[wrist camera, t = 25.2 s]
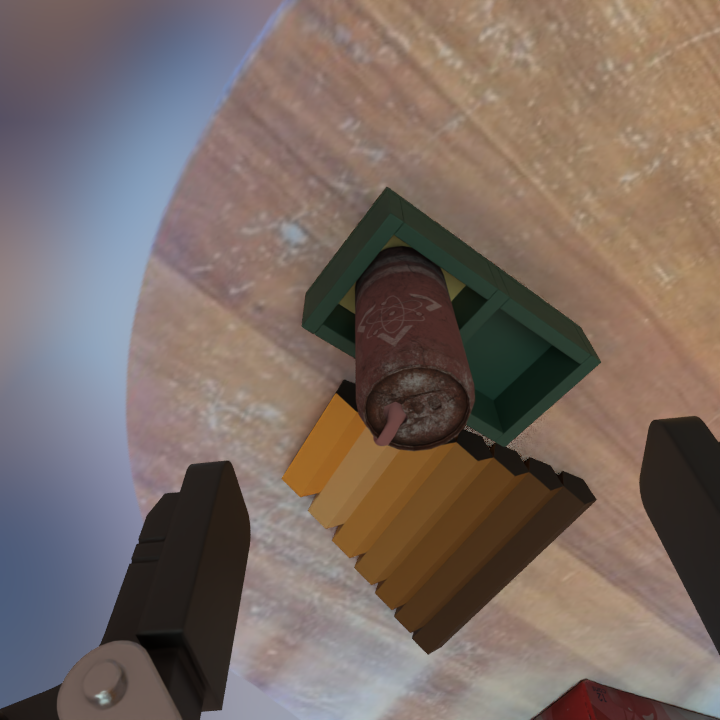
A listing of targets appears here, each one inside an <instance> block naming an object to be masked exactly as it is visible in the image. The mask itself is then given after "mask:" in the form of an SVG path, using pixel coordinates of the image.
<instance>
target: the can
mask: <svg viewBox="0 0 720 720" xmlns="http://www.w3.org/2000/svg"><path fill="white" fill-rule="evenodd" d="M355 359H356V404H357V409H358V414H359V416H360V417H361V419H362V421H363V422H364V424H365V425H366V427H367V428H368V429H369V430H370V432H371V434H372V435H373V440H374V442H375V443H376V444H377V445H378V446H386V445H388V446H390V447H393V448H396V449H398V450H407V451H421V450H430V449H433V448H435V447H438V446H441V445H444V444H446V443H447V442H449V441H450V440H451V439H453V438H454V437H456V436H457V435H458V434H459V433H460V432H461V430H462V429H463V428H464V427H465V425H466V424H467V421H468V418H469V416H470V414H471V411H472V408H473V405H474V402H475V389H474V383H473V379H472V375H471V372H470V368H469V364H468V361H467V357H466V353H465V350H464V346H463V343H462V339H461V335H460V332H459V328H458V324H457V321H456V317H455V313H454V310H453V306H452V302H451V299H450V295H449V292H448V288H447V284H446V281H445V277H444V274H443V272H442V270H441V268H440V267H439V266H438V265H436V264H435V263H434V262H432V261H431V260H429V259H428V258H426V257H425V256H424V255H422V254H421V253H419V252H418V251H416V250H415V249H413V248H412V247H406V246H399V247H392V248H387V249H385V250H382V251H380V252H379V254H378V255H377V256H376V257H375V259H374V260H373V261H372V262H371V264H370V265H369V266H368V267H367V269H366V270H365V271H364V272H363V274H362V275H361V276H360V277H359V279H358V280H357V281H356V285H355Z"/></svg>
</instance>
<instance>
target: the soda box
mask: <svg viewBox="0 0 720 720" xmlns="http://www.w3.org/2000/svg"><path fill="white" fill-rule="evenodd" d="M535 720H718V719H714V718H711V717H707V716H704V715H701V714H697V713H694V712H690V711H687V710H683V709H680V708H677V707H673V706H670V705H667V704H663V703H660V702H656V701H653V700H649V699H646V698H643V697H639V696H636V695H633V694H629V693H626V692H622V691H619V690H616V689H612V688H609V687H606V686H603V685H600V684H597V683H595V682H592V681H589V680H587V679H586V681H585V680H583V681H582V682H581V683H579V684H578V685H577V686H576V687H574V688H573V689H572V690H571V691H570V692H568V693H567V694H566V695H565V696H563V697H562V698H561V699H559V700H558V701H557V702H556V703H554V704H553V705H552V706H551V707H550V708H548V709H547V710H546V711H544V712H543V713H542V714H541V715H540V716H538V717H537V718H536V719H535Z"/></svg>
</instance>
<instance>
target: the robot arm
mask: <svg viewBox="0 0 720 720" xmlns="http://www.w3.org/2000/svg"><path fill="white" fill-rule="evenodd" d="M639 484H640V494H641V498H642V502H643V505H644V508H645V510H646V513H647V515H648V517H649V518H650V520H651V522H652V524H653V526H654V528H655V530H656V532H657V534H658V536H659V538H660V540H661V542H662V544H663V546H664V548H665V550H666V552H667V553H668V555H669V557H670V559H671V561H672V563H673V565H674V567H675V569H676V571H677V573H678V575H679V577H680V579H681V581H682V583H683V585H684V587H685V588H686V590H687V592H688V594H689V596H690V598H691V600H692V602H693V604H694V606H695V608H696V610H697V612H698V614H699V616H700V618H701V620H702V622H703V624H704V625H705V627H706V629H707V631H708V633H709V635H710V637H711V639H712V641H713V643H714V645H715V647H716V649H717V651H718V653H719V655H720V442H718V441H717V440H716V438H715V437H714V436H713V434H712V433H711V431H710V430H709V429H708V427H707V426H706V425H705V423H704V422H703V421H702V420H701V419H700V418H699V417H697V416H689V417H679V418H669V419H659V420H653V421H652V422H651V424H650V426H649V430H648V435H647V441H646V446H645V452H644V457H643V462H642V468H641V473H640V482H639ZM250 535H251V534H250V520H249V515H248V511H247V508H246V505H245V502H244V499H243V496H242V493H241V490H240V487H239V484H238V480H237V477H236V474H235V471H234V468H233V466H232V464H231V462H230V461H218V462H208V463H198V464H191V465H190V466H189V467H188V469H187V471H186V474H185V478H184V481H183V484H182V487H181V490H180V492H177V493H167V494H164V495H163V497H162V498H161V499H160V500H159V501H158V503H157V504H156V505H155V506H154V507H153V509H152V510H151V511H150V512H149V514H148V515H147V517H146V519H145V522H144V525H143V528H142V531H141V534H140V536H139V544H137V545H136V547H135V550H134V553H133V556H132V563H131V564H129V567H128V570H127V573H126V575H125V578H124V581H123V584H122V586H121V590H120V592H119V595H118V598H117V600H116V603H115V606H114V609H113V612H112V614H111V617H110V620H109V623H108V626H107V629H106V631H105V634H104V637H103V639H102V641H101V644H100V645H99V647H97V648H95V649H94V650H92V651H90V652H89V653H88V654H86V655H85V656H84V657H82V658H81V659H80V660H79V661H78V662H77V663H76V664H75V665H74V666H73V668H72V669H71V670H70V671H69V673H68V674H67V676H66V677H65V679H64V681H63V683H61V684H60V685H58V686H56V687H54V688H52V689H49V690H47V691H45V692H42V693H39V694H37V695H34V696H32V697H29V698H27V699H24V700H22V701H19V702H17V703H14V704H12V705H9V706H7V707H4V708H2V709H0V720H200V716H201V712H203V711H217V710H222V705H223V699H224V694H225V688H226V682H227V676H228V670H229V665H230V659H231V653H232V647H233V641H234V635H235V629H236V623H237V618H238V612H239V606H240V600H241V594H242V588H243V582H244V576H245V571H246V565H247V559H248V553H249V547H250Z"/></svg>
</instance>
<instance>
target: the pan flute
mask: <svg viewBox="0 0 720 720" xmlns="http://www.w3.org/2000/svg"><path fill="white" fill-rule="evenodd" d="M282 480H283V481H284V482H285V483H286V484H287V485H288V486H289V487H290V488H291V489H292V490H293V491H294V492H295V493H296V494H297V495H298V496H299V497H303V496H307V495H312V494H316V493H317V495H316V496H315V498H314V500H313V502H312V504H311V506H310V508H309V509H308V511H309V512H310V513H311V514H312V515H313V516H314V517H315V518H316V519H317V520H318V522H319V523H320V524H321V525H322V526H323V527H324V528H325V529H327V528H331V527H334V526H338V525H339V526H338V528H337V530H336V532H335V535H334V537H333V539H332V541H333V542H334V543H335V544H336V545H337V546H338V547H339V548H340V549H341V550H342V551H343V552H344V553H345V554H346V555H347V556H348V557H349V558H351V557H354V556H357V555H359V557H358V559H357V562H356V564H355V567H354V568H355V569H356V570H357V571H358V572H359V573H360V574H361V575H362V576H363V577H364V578H365V579H366V580H367V581H368V582H369V583H370V584H371V585H373V584H375V583H378V585H377V588H376V591H375V594H376V595H377V596H378V597H379V598H380V599H381V600H382V601H383V602H384V603H385V604H386V605H387V606H388V607H389V608H390V609H391V610H393V609H395V608H396V612H395V615H394V617H395V618H396V619H397V620H398V621H399V622H400V623H401V624H402V625H403V626H404V627H405V628H406V629H407V630H408V631H409V632H410V633H412V632H413V636H412V639H413V640H414V641H415V642H416V643H417V644H418V645H419V646H420V647H421V648H422V649H423V650H424V651H425V652H426V653H427V654H430V653H432V652H433V651H435V650H437V649H439V648H440V647H442V646H443V645H444V644H445V643H446V642H447V641H448V640H449V639H450V638H451V637H452V636H453V635H454V634H456V633H457V632H458V631H459V630H460V629H461V628H462V627H463V626H464V625H465V624H466V623H467V622H468V621H469V620H470V619H471V618H472V617H473V616H475V615H476V614H477V613H478V612H479V611H480V610H481V609H482V608H483V607H484V606H485V605H486V604H487V603H488V602H489V601H490V600H491V599H492V598H494V597H495V596H496V595H497V594H498V593H499V592H500V591H501V590H502V589H503V588H504V587H505V586H506V585H507V584H508V583H509V582H510V581H511V580H513V579H514V578H515V577H516V576H517V575H518V574H519V573H520V572H521V571H522V570H523V569H524V568H525V567H526V566H527V565H528V564H529V563H530V562H532V561H533V560H534V559H535V558H536V557H537V556H538V555H539V554H540V553H541V552H542V551H543V550H544V549H545V548H546V547H547V546H548V545H549V544H551V543H552V542H553V541H554V540H555V539H556V538H557V537H558V536H559V535H560V534H561V533H562V532H563V531H564V530H565V529H566V528H567V527H569V526H570V525H571V524H572V523H573V522H574V521H575V520H576V519H577V518H578V517H579V516H580V515H581V514H582V513H583V512H584V511H585V510H586V509H588V508H589V507H590V506H591V505H592V504H593V503H594V502H595V501H596V500H597V499H596V498H595V496H594V495H593V494H592V492H591V491H590V489H589V488H588V486H587V485H586V483H585V482H584V480H583V479H581V478H578V477H576V476H573V475H571V474H569V473H566V472H564V471H563V472H562V473H561V474H560V475H559V476H558V477H557V475H556V474H555V472H554V470H553V469H552V467H551V466H550V465H547V464H545V463H542V462H540V461H538V460H535V459H533V458H529V459H528V460H527V461H526V462H525V463H523V461H522V459H521V458H520V456H519V454H518V453H517V452H516V451H514V450H511V449H509V448H506V447H503V446H501V445H499V444H497V443H495V444H494V445H493V446H492V448H491V449H490V450H489V449H488V447H487V445H486V443H485V442H484V440H483V438H482V437H480V436H478V435H475V434H473V433H471V432H468V431H466V430H463V429H462V430H461V432H460V433H459V434H458V435H457V436H456V437H454V438H453V439H451V440H450V441H449V442H447V443H446V444H444V445H441V446H438V447H435V448H433V449H430V450H421V451H407V450H398V449H396V448H393V447H390V446H388V445H386V446H378V445H377V444H376V443H375V442H374V440H373V435H372V434H371V432H370V430H369V429H368V428H367V427H366V425H365V424H364V422H363V421H362V419H361V417H360V416H359V414H358V409H357V404H356V384H353V383H351V382H349V381H346V380H344V381H343V382H342V384H341V386H340V387H339V389H338V390H337V392H336V393H335V395H334V397H333V398H332V400H331V401H330V403H329V404H328V406H327V408H326V409H325V411H324V412H323V414H322V416H321V417H320V419H319V420H318V422H317V423H316V425H315V427H314V428H313V430H312V431H311V433H310V434H309V436H308V438H307V439H306V441H305V442H304V444H303V446H302V447H301V449H300V450H299V452H298V453H297V455H296V457H295V458H294V460H293V461H292V463H291V464H290V466H289V468H288V469H287V471H286V472H285V474H284V475H283V477H282Z"/></svg>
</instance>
